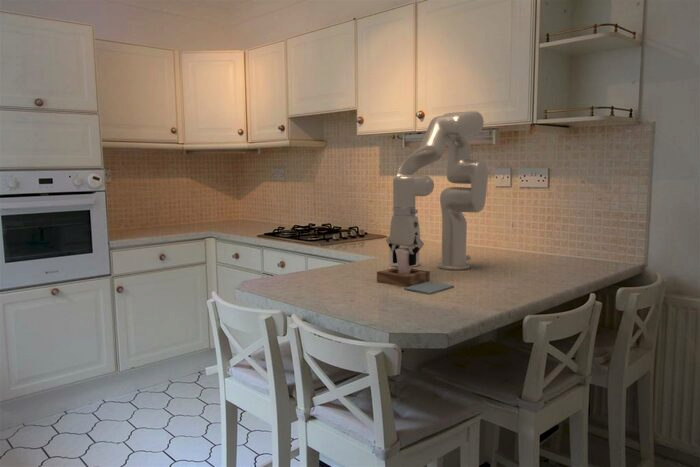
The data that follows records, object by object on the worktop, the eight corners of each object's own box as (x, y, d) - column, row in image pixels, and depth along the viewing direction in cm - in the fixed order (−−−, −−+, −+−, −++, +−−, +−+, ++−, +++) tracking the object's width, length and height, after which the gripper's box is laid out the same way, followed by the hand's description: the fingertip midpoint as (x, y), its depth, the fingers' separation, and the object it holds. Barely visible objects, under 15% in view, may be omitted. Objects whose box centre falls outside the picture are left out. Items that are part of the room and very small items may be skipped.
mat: (429, 283, 184) (429, 281, 184) (454, 287, 177) (454, 285, 177) (403, 289, 174) (404, 287, 174) (429, 294, 167) (429, 292, 167)
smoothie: (392, 275, 189) (392, 236, 187) (408, 274, 191) (408, 235, 189) (400, 279, 183) (400, 238, 181) (416, 277, 185) (417, 237, 183)
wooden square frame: (400, 276, 196) (400, 266, 195) (429, 281, 187) (429, 271, 186) (376, 281, 186) (376, 271, 186) (406, 287, 177) (406, 276, 177)
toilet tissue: (422, 263, 222) (422, 239, 220) (413, 268, 211) (413, 243, 210) (398, 261, 226) (398, 238, 225) (387, 266, 215) (387, 241, 214)
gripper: (431, 212, 181) (431, 265, 183) (391, 210, 192) (391, 259, 195) (418, 214, 175) (418, 268, 178) (377, 211, 187) (378, 262, 189)
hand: (404, 263), depth 186 cm, fingers closed on smoothie, 6 cm apart
